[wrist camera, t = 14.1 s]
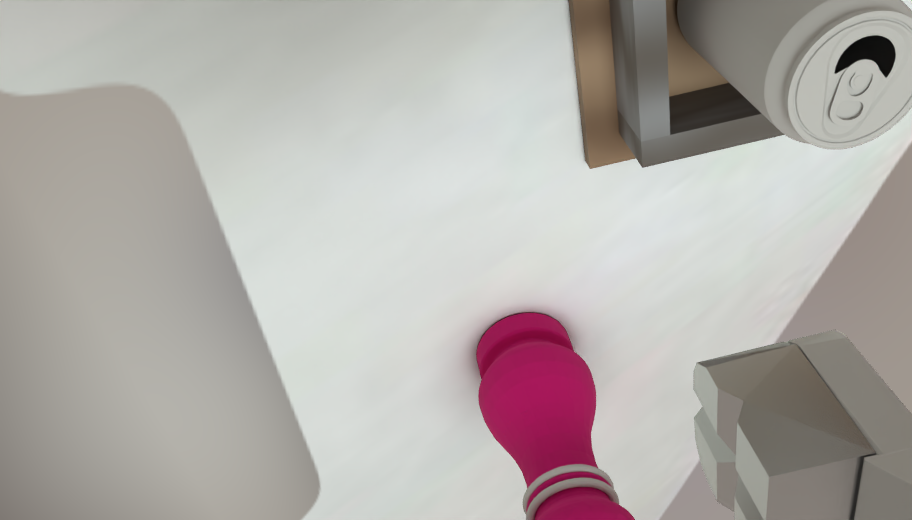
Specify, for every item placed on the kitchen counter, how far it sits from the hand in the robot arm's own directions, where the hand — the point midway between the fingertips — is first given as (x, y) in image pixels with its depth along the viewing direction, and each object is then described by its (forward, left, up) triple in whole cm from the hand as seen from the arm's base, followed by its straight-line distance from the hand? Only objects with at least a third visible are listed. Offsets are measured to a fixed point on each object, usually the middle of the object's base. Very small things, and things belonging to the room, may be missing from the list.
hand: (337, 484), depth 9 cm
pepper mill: (+30, +5, -34) cm, 46 cm away
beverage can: (+9, +19, -33) cm, 39 cm away
